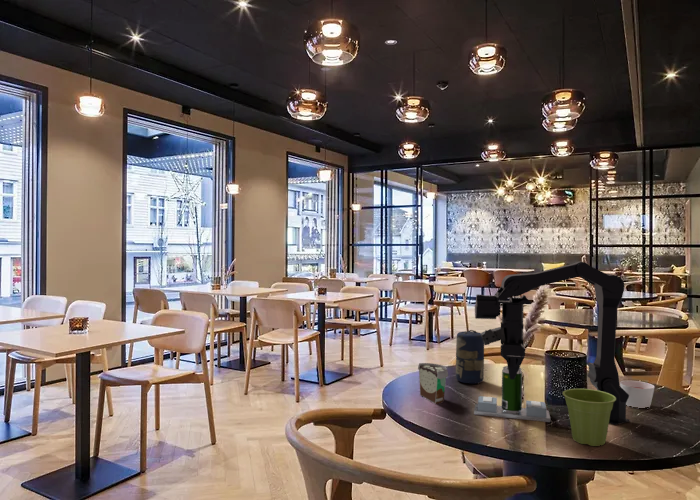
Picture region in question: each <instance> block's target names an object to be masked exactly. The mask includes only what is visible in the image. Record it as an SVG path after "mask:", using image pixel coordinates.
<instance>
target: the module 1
mask: <svg viewBox="0 0 700 500" xmlns="http://www.w3.org/2000/svg"><path fill="white" fill-rule="evenodd" d="M497 403H498V397H492V396H483V395H482V396H481V395H480V396H478V399H477V404H478V411H487V412H496V409H497V406H498V405H497Z"/></svg>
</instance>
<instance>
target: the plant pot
mask: <svg viewBox="0 0 700 500" xmlns="http://www.w3.org/2000/svg"><path fill="white" fill-rule="evenodd" d="M562 395H563V396H564V399H565V404H566V406H567V412H568V418H569V422H570V423H569V424H570V429H571V437H572V439H573V440H574V441H575V442H577V443H578V444H581V445H589V446H591V447H598V446H599V447H600V445H601V446H603V445H605V443H606V440H607V436H608V431H609V424H610V423H609V419H610V414H611V410H612V407H613V403H614V402H615V401H616V397H615V396H613V395H612V394H609V393H606V392H603V391H598V390H597V389H592V388H591V389H589V388H571V389H565V390H564V391H562Z"/></svg>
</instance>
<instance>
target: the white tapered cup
mask: <svg viewBox="0 0 700 500" xmlns="http://www.w3.org/2000/svg"><path fill="white" fill-rule="evenodd" d="M619 382H620V387H621V388H622V389H623V390H624V391H625V392H626V393H627V394H628V395H629V398H628V400H627V402H626V405H627V406H626V407H629V406H632V407H631V408H633V407H638V408H637V409H639V408H645V407H649V408H651V404H652V401H653V400H652V399H653V397H654V392H655V385H654V384H651V383H648V382H646V381H645V382H644V381H639V380H621V381H619Z"/></svg>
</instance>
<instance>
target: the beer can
mask: <svg viewBox="0 0 700 500" xmlns="http://www.w3.org/2000/svg"><path fill="white" fill-rule="evenodd" d="M522 371H523V370H522V368H521V367H520V368H519V370H518V372H517V374H516V377H515V379H510V376H509V371H508V365H506V366H505V365H504V366H503V367H502V371H501V406H502V409H503V411H505V412H507V413H520V412H521V410H522V408H523V407H522V406H523V400H522V399H523V372H522Z"/></svg>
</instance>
